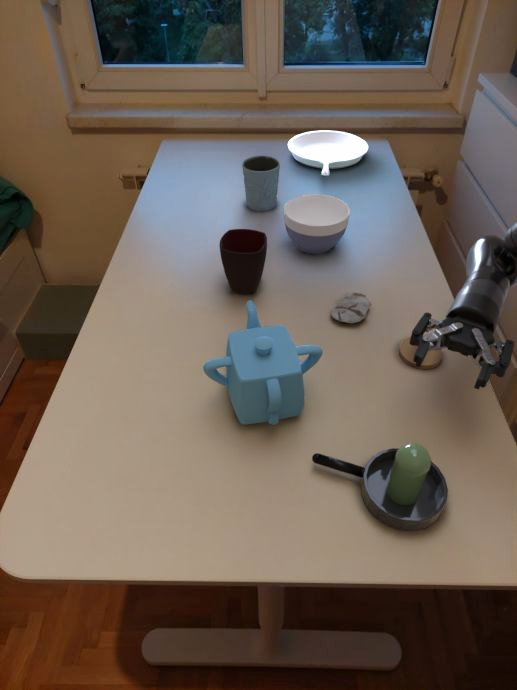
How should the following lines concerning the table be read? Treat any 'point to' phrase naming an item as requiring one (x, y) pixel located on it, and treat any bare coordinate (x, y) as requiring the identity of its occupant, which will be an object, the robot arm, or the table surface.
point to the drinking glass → (261, 182)
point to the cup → (243, 258)
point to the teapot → (263, 371)
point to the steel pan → (393, 513)
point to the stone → (351, 308)
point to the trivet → (409, 350)
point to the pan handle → (338, 465)
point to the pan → (327, 149)
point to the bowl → (316, 221)
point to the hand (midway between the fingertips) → (447, 373)
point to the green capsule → (408, 473)
